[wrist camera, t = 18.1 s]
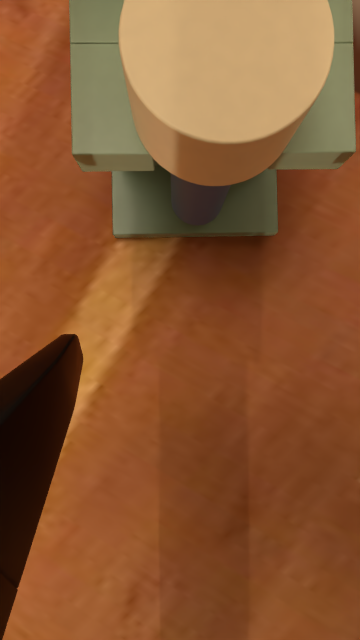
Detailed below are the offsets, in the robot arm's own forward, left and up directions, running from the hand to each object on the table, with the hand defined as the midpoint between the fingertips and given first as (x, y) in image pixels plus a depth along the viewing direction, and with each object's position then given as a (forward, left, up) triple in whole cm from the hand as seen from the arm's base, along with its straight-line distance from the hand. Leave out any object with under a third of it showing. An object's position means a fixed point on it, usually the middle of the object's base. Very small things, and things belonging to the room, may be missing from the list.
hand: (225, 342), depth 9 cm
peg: (+7, +5, -9) cm, 12 cm away
